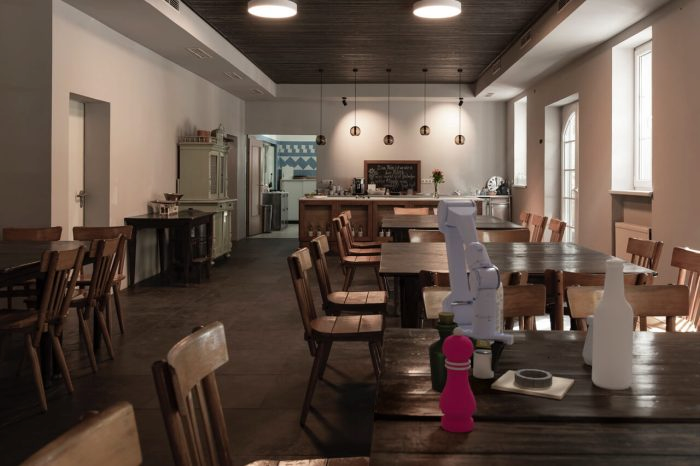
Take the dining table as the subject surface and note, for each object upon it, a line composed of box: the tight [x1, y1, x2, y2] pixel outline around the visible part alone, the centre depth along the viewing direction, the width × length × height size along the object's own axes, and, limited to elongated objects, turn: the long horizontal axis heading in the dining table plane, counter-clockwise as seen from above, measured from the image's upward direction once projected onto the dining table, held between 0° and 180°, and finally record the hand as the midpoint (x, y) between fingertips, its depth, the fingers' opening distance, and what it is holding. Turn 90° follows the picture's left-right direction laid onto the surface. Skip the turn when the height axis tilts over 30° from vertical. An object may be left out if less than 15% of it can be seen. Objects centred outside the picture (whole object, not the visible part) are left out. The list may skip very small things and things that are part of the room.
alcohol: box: [591, 258, 635, 391], centre depth 153 cm, size 9×9×30 cm
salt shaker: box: [582, 314, 594, 367], centre depth 171 cm, size 6×6×13 cm
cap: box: [472, 349, 495, 380], centre depth 161 cm, size 5×5×6 cm
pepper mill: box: [438, 327, 477, 434], centre depth 126 cm, size 7×7×20 cm
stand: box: [490, 368, 575, 400], centre depth 153 cm, size 16×14×3 cm
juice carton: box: [476, 281, 504, 350], centre depth 191 cm, size 8×9×19 cm
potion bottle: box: [428, 311, 458, 394], centre depth 150 cm, size 8×8×18 cm
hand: (483, 368), depth 161 cm, fingers closed on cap, 5 cm apart
